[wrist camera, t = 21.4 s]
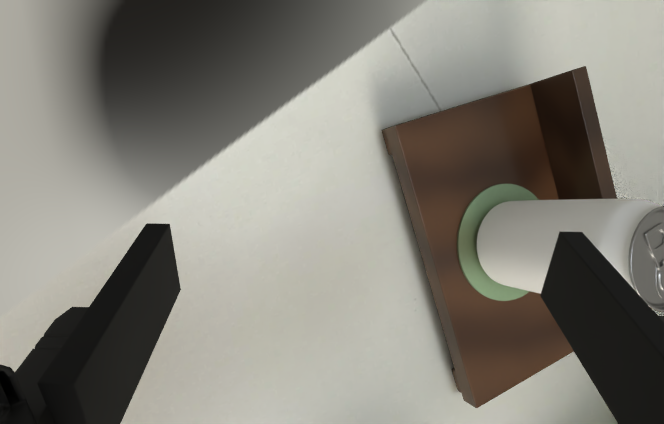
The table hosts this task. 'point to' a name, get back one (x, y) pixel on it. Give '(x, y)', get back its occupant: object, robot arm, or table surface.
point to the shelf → (479, 198)
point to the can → (575, 216)
